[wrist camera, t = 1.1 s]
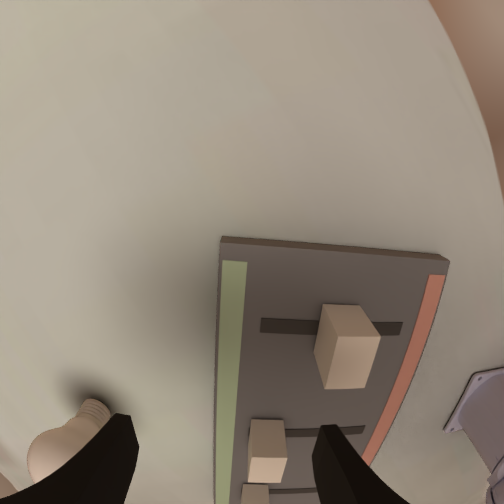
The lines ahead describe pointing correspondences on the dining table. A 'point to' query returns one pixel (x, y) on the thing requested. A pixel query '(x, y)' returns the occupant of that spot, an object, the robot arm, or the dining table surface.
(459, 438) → the dining table surface
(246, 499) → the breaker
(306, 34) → the dining table surface
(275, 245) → the breaker panel
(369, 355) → the block
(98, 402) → the lightbulb
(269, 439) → the breaker middle
